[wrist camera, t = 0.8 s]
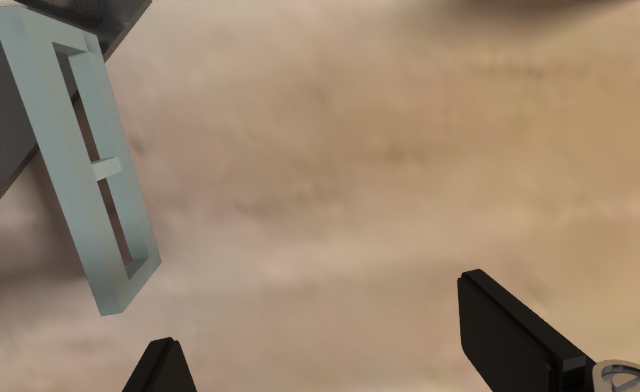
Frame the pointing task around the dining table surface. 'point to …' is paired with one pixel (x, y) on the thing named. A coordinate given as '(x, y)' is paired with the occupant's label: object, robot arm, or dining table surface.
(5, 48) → the gate
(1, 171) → the gate frame
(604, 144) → the dining table surface
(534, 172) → the dining table surface
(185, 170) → the dining table surface
